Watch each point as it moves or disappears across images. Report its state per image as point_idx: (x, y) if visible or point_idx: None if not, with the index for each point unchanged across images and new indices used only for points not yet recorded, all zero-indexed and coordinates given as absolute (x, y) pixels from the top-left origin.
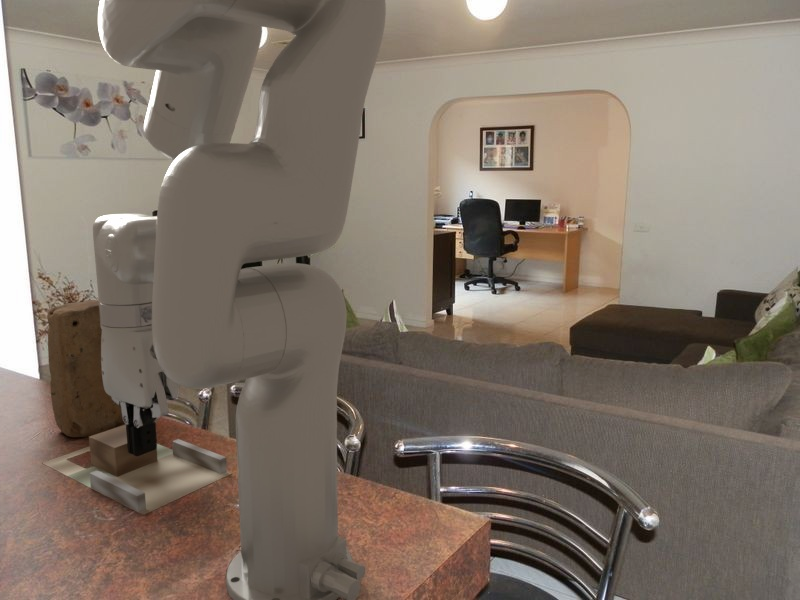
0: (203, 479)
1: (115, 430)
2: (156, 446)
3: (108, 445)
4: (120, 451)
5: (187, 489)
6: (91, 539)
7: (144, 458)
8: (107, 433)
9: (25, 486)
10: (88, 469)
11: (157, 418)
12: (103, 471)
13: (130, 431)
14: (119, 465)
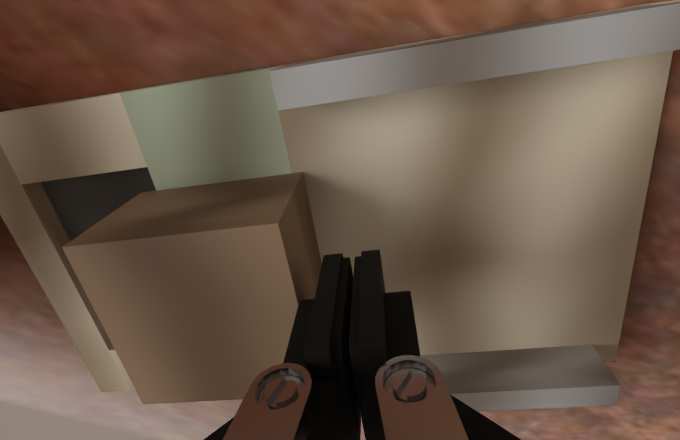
0: (604, 129)
1: (129, 323)
2: (379, 252)
3: None
4: None
5: (610, 211)
6: (552, 430)
7: (308, 235)
8: (146, 354)
9: (190, 421)
10: None
11: (442, 378)
12: None
13: (360, 422)
14: None
